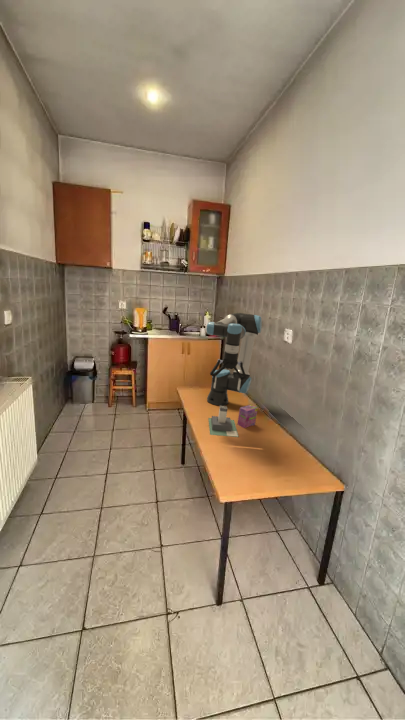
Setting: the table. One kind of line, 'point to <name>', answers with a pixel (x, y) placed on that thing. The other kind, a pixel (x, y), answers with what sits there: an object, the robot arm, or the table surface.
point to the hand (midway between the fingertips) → (226, 388)
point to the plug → (222, 414)
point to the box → (247, 416)
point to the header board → (221, 433)
